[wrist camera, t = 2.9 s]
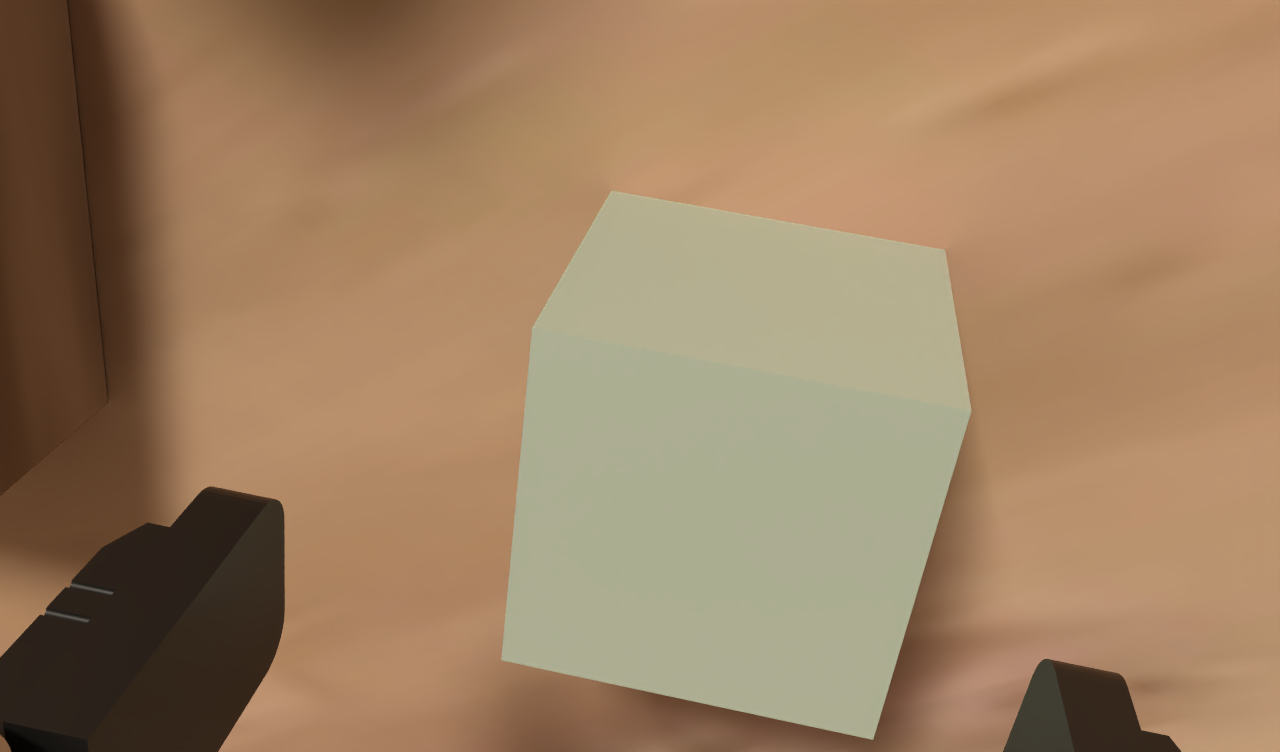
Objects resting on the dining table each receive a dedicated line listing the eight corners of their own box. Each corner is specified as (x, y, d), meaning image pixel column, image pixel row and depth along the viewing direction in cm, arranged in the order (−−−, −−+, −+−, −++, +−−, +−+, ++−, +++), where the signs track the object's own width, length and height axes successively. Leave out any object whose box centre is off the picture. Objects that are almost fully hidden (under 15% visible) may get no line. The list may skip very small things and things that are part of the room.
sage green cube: (944, 247, 18) (971, 410, 13) (870, 524, 20) (872, 740, 16) (612, 188, 18) (532, 326, 14) (578, 466, 20) (500, 660, 16)
